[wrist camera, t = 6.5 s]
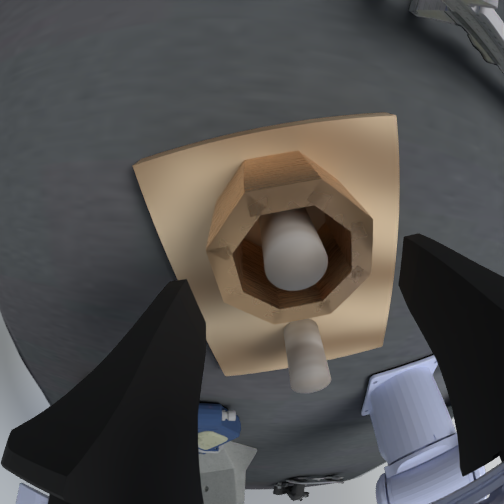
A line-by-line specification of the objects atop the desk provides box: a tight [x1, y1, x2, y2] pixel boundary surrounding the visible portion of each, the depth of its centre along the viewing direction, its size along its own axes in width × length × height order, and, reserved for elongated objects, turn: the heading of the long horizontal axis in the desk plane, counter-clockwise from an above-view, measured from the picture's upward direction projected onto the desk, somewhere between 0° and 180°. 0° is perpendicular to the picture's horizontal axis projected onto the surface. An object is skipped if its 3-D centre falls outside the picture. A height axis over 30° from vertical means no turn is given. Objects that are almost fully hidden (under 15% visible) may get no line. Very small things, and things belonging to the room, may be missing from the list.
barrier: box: [199, 441, 257, 504], centre depth 33 cm, size 28×7×10 cm, turn 132°
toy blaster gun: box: [198, 403, 241, 454], centre depth 25 cm, size 21×4×15 cm
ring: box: [206, 150, 373, 325], centre depth 11 cm, size 6×6×4 cm
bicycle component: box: [273, 476, 344, 501], centre depth 49 cm, size 12×7×15 cm
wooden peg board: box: [133, 112, 399, 393], centre depth 14 cm, size 16×12×5 cm
